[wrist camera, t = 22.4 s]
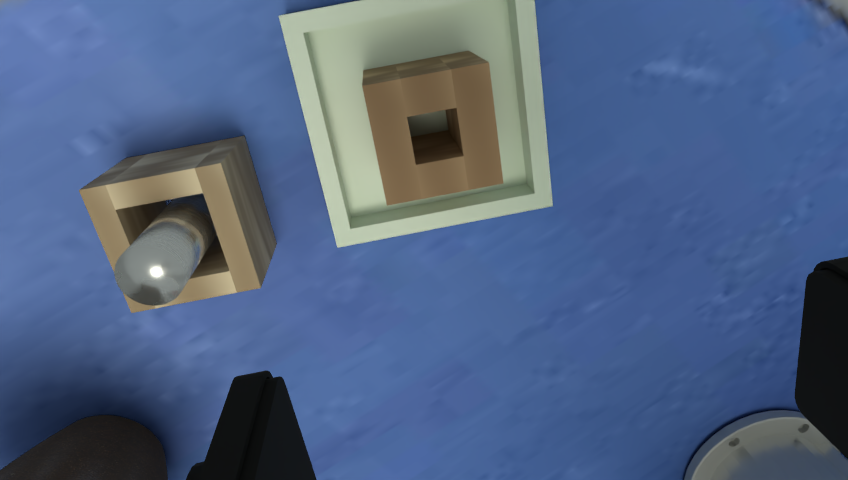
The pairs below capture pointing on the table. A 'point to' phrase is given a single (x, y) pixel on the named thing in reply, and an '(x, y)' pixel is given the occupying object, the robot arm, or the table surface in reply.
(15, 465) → the plant pot
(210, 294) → the go block
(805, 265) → the table surface
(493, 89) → the tray
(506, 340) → the table surface
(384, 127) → the block
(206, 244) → the cylinder
